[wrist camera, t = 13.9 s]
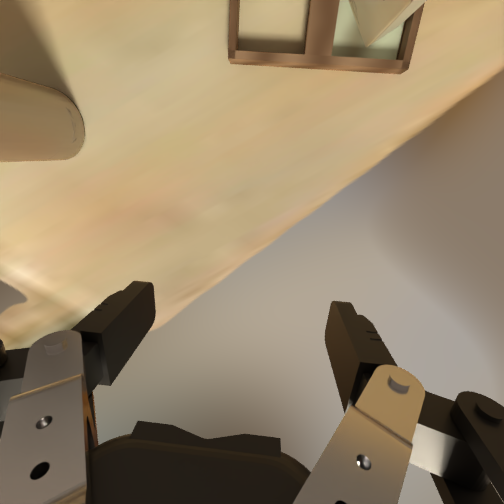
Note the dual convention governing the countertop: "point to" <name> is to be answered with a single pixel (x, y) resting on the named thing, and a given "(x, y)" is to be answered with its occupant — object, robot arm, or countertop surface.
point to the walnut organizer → (334, 42)
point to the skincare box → (381, 16)
